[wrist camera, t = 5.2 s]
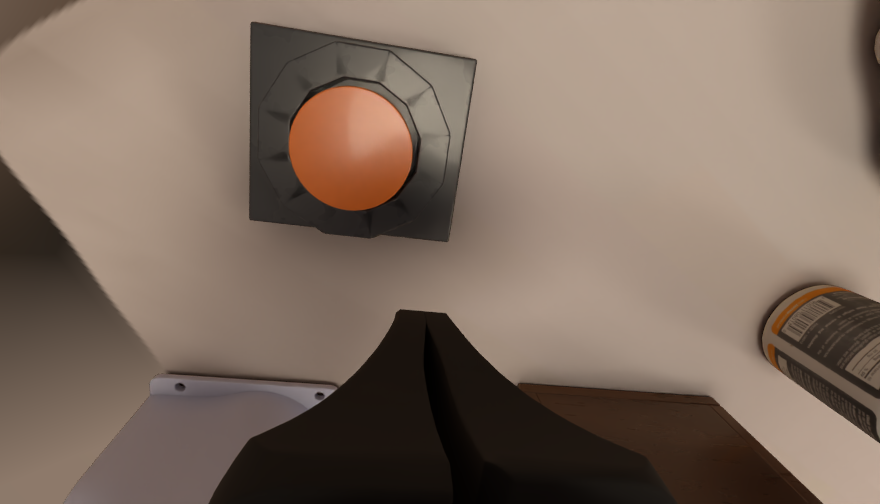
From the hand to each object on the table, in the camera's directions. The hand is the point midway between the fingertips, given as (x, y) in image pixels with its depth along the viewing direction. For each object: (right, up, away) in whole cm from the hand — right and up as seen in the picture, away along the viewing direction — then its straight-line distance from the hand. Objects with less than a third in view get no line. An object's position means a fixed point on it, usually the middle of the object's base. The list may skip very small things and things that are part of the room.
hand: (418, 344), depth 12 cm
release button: (-3, +7, +6) cm, 9 cm away
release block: (-3, +8, +8) cm, 11 cm away
